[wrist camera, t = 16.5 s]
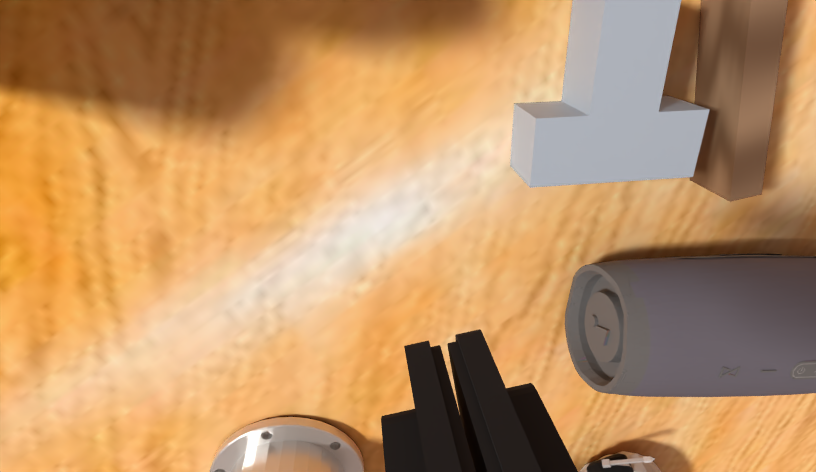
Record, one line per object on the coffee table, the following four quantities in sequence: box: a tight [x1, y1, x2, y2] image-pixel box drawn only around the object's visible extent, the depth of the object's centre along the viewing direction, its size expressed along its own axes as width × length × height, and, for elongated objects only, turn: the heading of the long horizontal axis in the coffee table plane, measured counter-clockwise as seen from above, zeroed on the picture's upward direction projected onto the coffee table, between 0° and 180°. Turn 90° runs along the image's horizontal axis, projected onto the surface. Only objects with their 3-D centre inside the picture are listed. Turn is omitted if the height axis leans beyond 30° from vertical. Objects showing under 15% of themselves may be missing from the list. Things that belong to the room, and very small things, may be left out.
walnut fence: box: [690, 0, 788, 201], centre depth 28 cm, size 18×20×4 cm
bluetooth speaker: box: [565, 254, 816, 397], centre depth 33 cm, size 23×9×10 cm, turn 87°
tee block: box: [510, 0, 710, 187], centre depth 28 cm, size 10×10×4 cm
